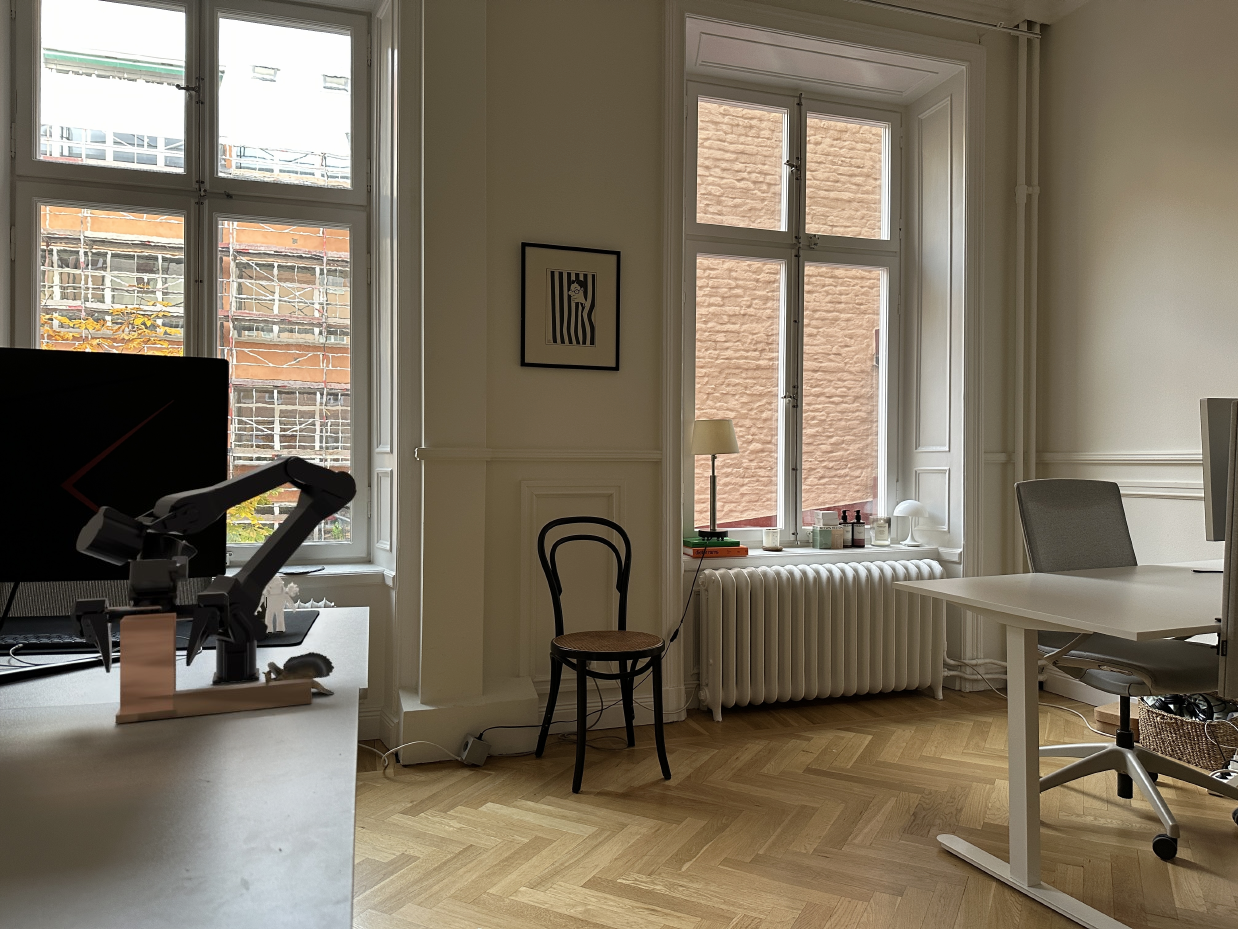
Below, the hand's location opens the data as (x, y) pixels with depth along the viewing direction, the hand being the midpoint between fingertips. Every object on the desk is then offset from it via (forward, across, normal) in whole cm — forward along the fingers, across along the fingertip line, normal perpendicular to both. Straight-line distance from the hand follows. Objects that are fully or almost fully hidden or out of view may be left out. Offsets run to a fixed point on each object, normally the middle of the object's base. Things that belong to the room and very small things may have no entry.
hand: (148, 667), depth 110 cm
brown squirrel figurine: (+3, +18, +7) cm, 20 cm away
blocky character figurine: (-35, +16, +45) cm, 59 cm away
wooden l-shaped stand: (+2, +8, +7) cm, 11 cm away
